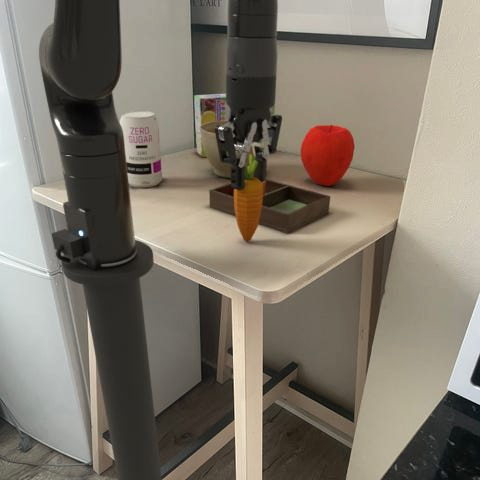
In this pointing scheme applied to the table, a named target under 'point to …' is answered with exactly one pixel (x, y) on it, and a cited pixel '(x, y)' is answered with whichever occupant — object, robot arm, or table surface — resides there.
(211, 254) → the table surface
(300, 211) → the sorting tray
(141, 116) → the supplement can
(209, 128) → the planter bowl
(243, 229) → the carrot
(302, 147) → the apple
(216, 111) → the snack box
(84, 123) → the robot arm
